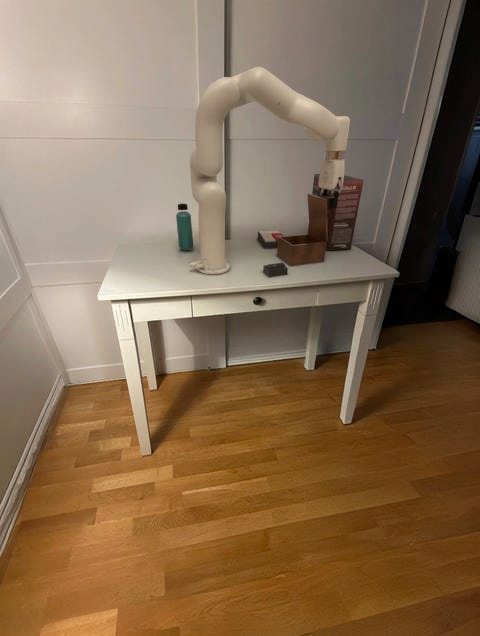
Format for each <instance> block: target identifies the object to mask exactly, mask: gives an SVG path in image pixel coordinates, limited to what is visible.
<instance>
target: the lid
mask: <svg viewBox="0 0 480 636" xmlns="http://www.w3.org/2000/svg"><path fill="white" fill-rule="evenodd" d="M306 195H307V211H308V226H309V228H310V233H311V234H313V235H315V236H317V237H319V238H321V239H323V240H325V241H328V224H327V202H328V203H330V198H331V197H328V196H324V195H322V196H321V197H319V196H315V195H312V193H307V194H306Z"/></svg>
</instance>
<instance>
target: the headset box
mask: <svg viewBox="0 0 480 636" xmlns="http://www.w3.org/2000/svg"><path fill="white" fill-rule="evenodd" d="M319 176H320V173H314V174H313V183H312V193H311V194H312V195H315V196H319V197H321V194H320V193H321V191H320V187H319V185H318V184H319ZM364 182H365V180H364V179H362V178H357V177H353V176H349V175H344V180H343V188H344V191H343V192H342V193H341V194H340V196H339V198H338V203H337V208H335V209H329V205H330V203H328V204H327V224H328V241H326V242H327V245H326V251H341V250H351V249H352V246H353V239H354V234H355V228H356V224H357V217H358V212H359V207H360V203H361V198H362V197H361V196H362V192H363V186H364ZM335 192H336V191H334V194H335ZM327 195H329V197H331V198H332V196H331V190H329V192H328V194H327ZM307 234H311V233H310V228H309V225H308V228H307ZM312 235H313V234H312ZM314 236H315V235H314ZM316 237H317V236H316ZM318 238H319V237H318ZM320 239H321V238H320ZM322 240H323V239H322ZM324 241H325V240H324Z"/></svg>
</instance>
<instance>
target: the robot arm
mask: <svg viewBox="0 0 480 636" xmlns="http://www.w3.org/2000/svg"><path fill="white" fill-rule="evenodd" d="M253 102H255V103H257V104H258V105H259V106H261V107H262V108H264V109H265V110H267V111H269V112H270V113H271V114H272V115H274V116H276V117H277V118H278V119H280V120H282V121H285V122H288V123H292V124H296V125H299V126H301V127H303V134H304V136H305V138H306V139H308V140H309V141H311V142H325V143H324V152H323V153H324V154H323V159H322V162H321V165H320V171H319V174H320V176H319V184H318V185H319V187H320V191H321V193H320V194H321V196H322V195H324V196H328V197H329V195H327V194H328V192H329V190H331V196H332V198H330V205H329V209H335V208H337V203H338V198H339V196H340V194H341V193H342V192H343V191H344V188H343V180H344V176H345V160H346V152H347V146H348V139H349V138H348V137H349V130H350V124H351V123H350V122H351V120H350V116H347V115H337V116H336V115H335V114H334V113H333V112H332V111H330V110H329V109H327V108H326V107H325V106H324V105H322V104H320V103H319V102H317V101H315V100H313V99H311V98H309V97H307V96H305V95H303V94H301V93H299V92H297V91H295V90H294V89H293V88H292V87H290V86H288V84H286V83H285V82H284V81H282V79H280V78H279V77H277V76H276V75H274V74H273V73H272V72H270V70H268V69H266V68H265V67H262V66H254V67H252V68H250V69H248V70H246V71H243V72H240V73H239V74H236V75H233V76H223V77H221V78H218V79H217V80H215V81H213V82H211V83H210V84H209V85H208V86H207V88H206V89H205V91H204V93H203V95H202V96H201V98H200V100H199V102H198V105H197V108H196V113H195V122H194V124H195V125H194V127H195V128H194V129H195V130H194V131H195V146H194V147H193V148H192V150H191V152H190V156H189V170H190V184H191V185H190V186H191V193H192V197H193V199H194V200H195V201H196V203H197V204H198V215H197V217H198V218H197V219H198V221H197V222H198V235H199V237H198V238H199V253H200V256H199V257H198V258H197V260H196V261H192V262H189V263H188V266H189V268H190V269H192V268H195V269H196V270H197V271H198V272H199V273H202V274H205V275H220V274H224V273H226V272H228V271H229V270H230V266H231V265H230V264H229V263H228V262H227V261H226V209H227V193H226V191H225V189H224V187H223V186H222V185H221V183H219V182H218V181H217V175H218V174H220V173H221V171H222V170H223V166H224V154H223V153H224V152H223V129H224V123H225V119H226V117H227V115H228V114H229V112H231V111H233V110H234V109H236V108H240V107H242V106H245V105H247V104H250V103H253ZM334 191H336V192H335V194H334ZM327 204H328V202H327Z"/></svg>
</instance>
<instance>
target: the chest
mask: <svg viewBox="0 0 480 636" xmlns="http://www.w3.org/2000/svg"><path fill="white" fill-rule="evenodd" d="M326 245H327V242H326V241H324V240H322V239H320V238H318V237H316V236H314V235H312V234H308V233H305V234H294V235H283V237H278V245H277V248H276V257H278V258H279V259H280V260H281V261H283V263H285V264H287V265H288V266H290V267H295V266H303V265H309V264H316V263H317V264H318V263H324V262H325V258H326V252H327V250H326Z"/></svg>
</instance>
